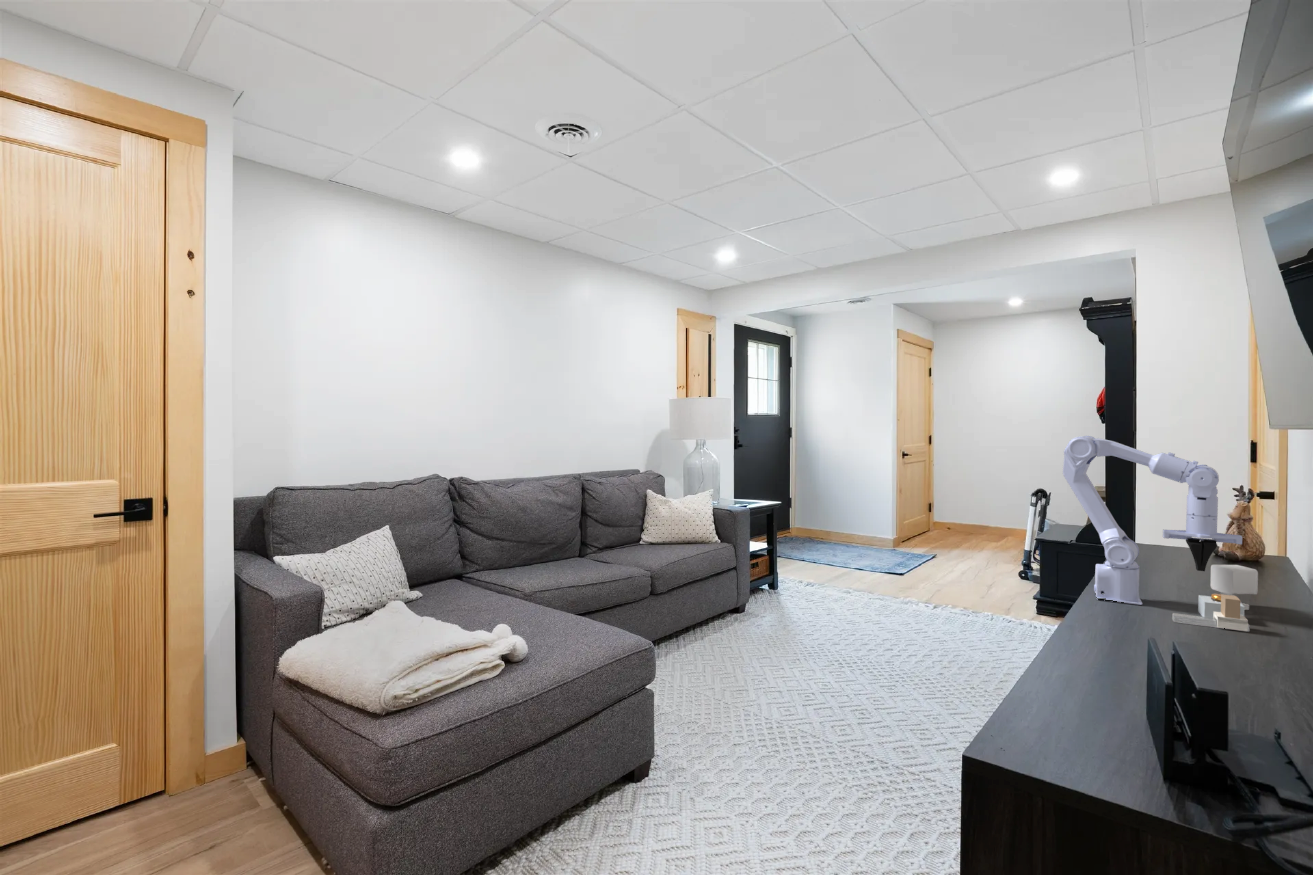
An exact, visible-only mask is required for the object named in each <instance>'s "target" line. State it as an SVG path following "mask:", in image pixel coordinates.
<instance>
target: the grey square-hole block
mask: <svg viewBox="0 0 1313 875" xmlns="http://www.w3.org/2000/svg"><path fill="white" fill-rule="evenodd" d="M1197 597H1198V599H1197V600H1198V603H1197V604H1198V605H1197V607H1198V608H1197V611H1198V613H1199V615H1200V616H1201V617H1209V618H1213V611H1214V612H1221V602H1215V601H1214V599H1212V598H1211V596H1210V595H1202V594H1201V595H1200V594H1198V596H1197ZM1244 609H1245V607H1244V606H1243V605H1242V604H1241V603H1240V615H1243V616H1244V617H1245V610H1244Z"/></svg>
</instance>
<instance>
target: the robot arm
mask: <svg viewBox="0 0 1313 875" xmlns="http://www.w3.org/2000/svg"><path fill="white" fill-rule="evenodd" d="M1175 455H1176V453H1173V452H1168V453H1166V452H1160V453H1157V454H1152V453H1149V452H1147V451H1142V450H1139V449H1136V448H1134V447H1130V446H1128V445H1125V444H1123V443H1119V442H1118V441H1114V440H1108V439H1105V438H1099V437H1095V436H1091V435H1084V436H1080V435H1079V436H1075V437H1073V438H1071V440H1069V442H1068V443H1067V444H1066V447H1065V449H1064V450H1063V465H1062V466H1063V467H1062V474H1063V477H1064V479H1065V480H1066V482H1067V484H1068V485H1069V487H1070V489H1071V490H1072V493H1074V496H1075V497H1076V498H1077V501H1078V502H1079V504H1080V505H1081V506H1082V509H1083V510H1084V512H1085V513H1086V515H1087V517H1088V518H1089V521H1090V522H1091V523H1092V525H1093V527H1094V529H1095V530H1096V532H1097V533H1098V536H1099V539H1100V542H1101V544H1102V546H1103V548H1104V556H1105V557H1104V558H1105V559H1106V560H1105V561H1104V563H1096V564H1095V571H1094V572H1095V573H1094V584H1093V591H1094V593H1096V595H1095V598H1096V597H1097V598H1106V600H1113V601H1117V602H1116V603H1121V602H1124V603H1123V604H1130V605H1140V606H1141V605H1142V606H1143V602H1142V600H1141V598H1140V591H1139V590H1140V565H1139V564H1138V563H1137V562H1136V559H1137V558H1138V557H1139V555H1140V548H1139V546H1138V544H1137V543H1136V542H1135V541H1134V540H1132V539H1131V538H1129V537H1128V535H1127V534H1126V532H1125V531H1124V530H1123V529H1122V528H1121V527H1120V526H1119V524H1118V523H1117V521H1116V520H1115V518H1114V516H1113V514H1112V513H1111V511H1110V510H1109V508H1108V507H1107V505H1106V503H1105V501H1104V500H1103V498H1102V497H1101V495H1100V494H1099V492H1098V490H1097V489H1096V487H1095V486H1094V484H1093V483H1092V480H1091V479H1090V478H1089V477H1088V474H1087V472H1088V470H1089V467H1090V465H1091V463H1092V461H1093V460H1094V459H1095V458H1096V457H1097V458H1098V457H1110V456H1112V457H1117V458H1119V459H1122V460H1125V461H1130V462H1133V463H1135V464H1139V465H1141V466H1146V467H1147V468H1149V470H1150V472H1151V474H1153V475H1156V476H1158V477H1162V478H1165V479H1167V480H1170V481H1173V482H1177V483H1179V484H1183V483H1186V484H1187V485H1188V494H1187V495H1186V519H1185V520H1186V521H1185V523H1186V524H1185V529H1162V538H1163V539H1173V540H1185V542H1186V544H1187V546H1188V548H1189V550H1190V552H1191V554H1192V557H1193V561H1194V564H1195V565H1194V566H1195V569H1196V571H1199V572H1205V571H1206V568H1207V564H1208V562H1209V559H1210V558H1211V556H1212V555H1213V552H1215V550H1216V549H1217V547H1218V543H1225V544H1236V545H1243V536H1242V535H1240V534H1230V533H1221V532H1218V513H1219V512H1218V510H1219V508H1218V507H1219V497H1218V492H1219V491H1218V487H1217V485H1218V484H1219V481H1220V478H1219V477H1220V475H1219V473H1218V471H1217V470H1216V469H1214V468H1213V467H1211V466H1209V465H1207V464H1199V461H1197V460H1192V461H1190V460H1187V459H1184V458H1181V457H1177V456H1175ZM1102 593H1104V594H1102ZM1097 598H1096V599H1097ZM1113 601H1112V602H1113Z"/></svg>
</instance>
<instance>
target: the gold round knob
mask: <svg viewBox="0 0 1313 875" xmlns="http://www.w3.org/2000/svg"><path fill="white" fill-rule="evenodd" d="M1211 598H1212V599H1214V601H1215V602H1221V593H1211Z"/></svg>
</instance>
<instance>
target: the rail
mask: <svg viewBox="0 0 1313 875" xmlns="http://www.w3.org/2000/svg"><path fill="white" fill-rule="evenodd" d="M1171 620H1172V621H1173V622H1174V623H1179V624H1187V625H1192V626H1193V625H1194V626H1202V627H1209V628H1216V629H1217V628H1218V627H1217V619H1216V618H1209V617H1202V615H1200V616H1199V615H1198V616H1197V615H1192V614H1191V615H1190V614H1184V613H1183V614H1182V613H1177V612H1172V616H1171ZM1218 629H1219V628H1218ZM1230 630H1233V629H1230ZM1233 631H1234V630H1233ZM1238 631H1240V632H1242V631H1241V630H1238ZM1246 632H1248V633H1250V624H1249V623H1248V631H1246Z"/></svg>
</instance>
